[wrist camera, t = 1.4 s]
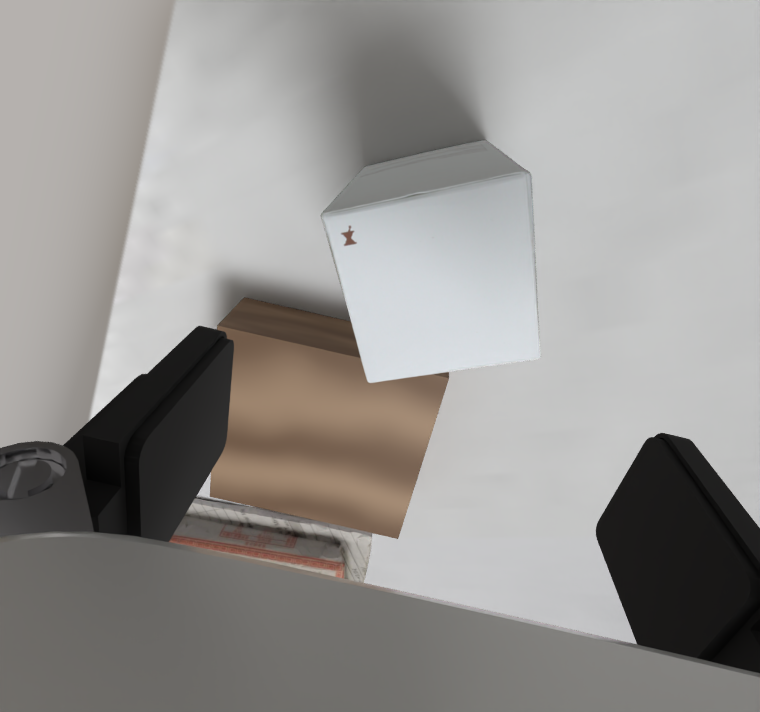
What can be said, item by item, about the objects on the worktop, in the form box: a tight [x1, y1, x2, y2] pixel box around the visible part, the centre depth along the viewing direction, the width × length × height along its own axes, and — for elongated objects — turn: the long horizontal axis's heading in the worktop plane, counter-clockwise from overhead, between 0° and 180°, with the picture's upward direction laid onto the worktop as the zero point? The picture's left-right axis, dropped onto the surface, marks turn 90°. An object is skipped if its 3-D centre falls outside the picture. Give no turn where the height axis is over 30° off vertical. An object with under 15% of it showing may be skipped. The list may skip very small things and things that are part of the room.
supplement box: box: [321, 140, 541, 383], centre depth 23 cm, size 7×7×13 cm
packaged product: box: [169, 498, 372, 583], centre depth 43 cm, size 18×5×10 cm
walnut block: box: [210, 297, 449, 539], centre depth 34 cm, size 14×14×5 cm
